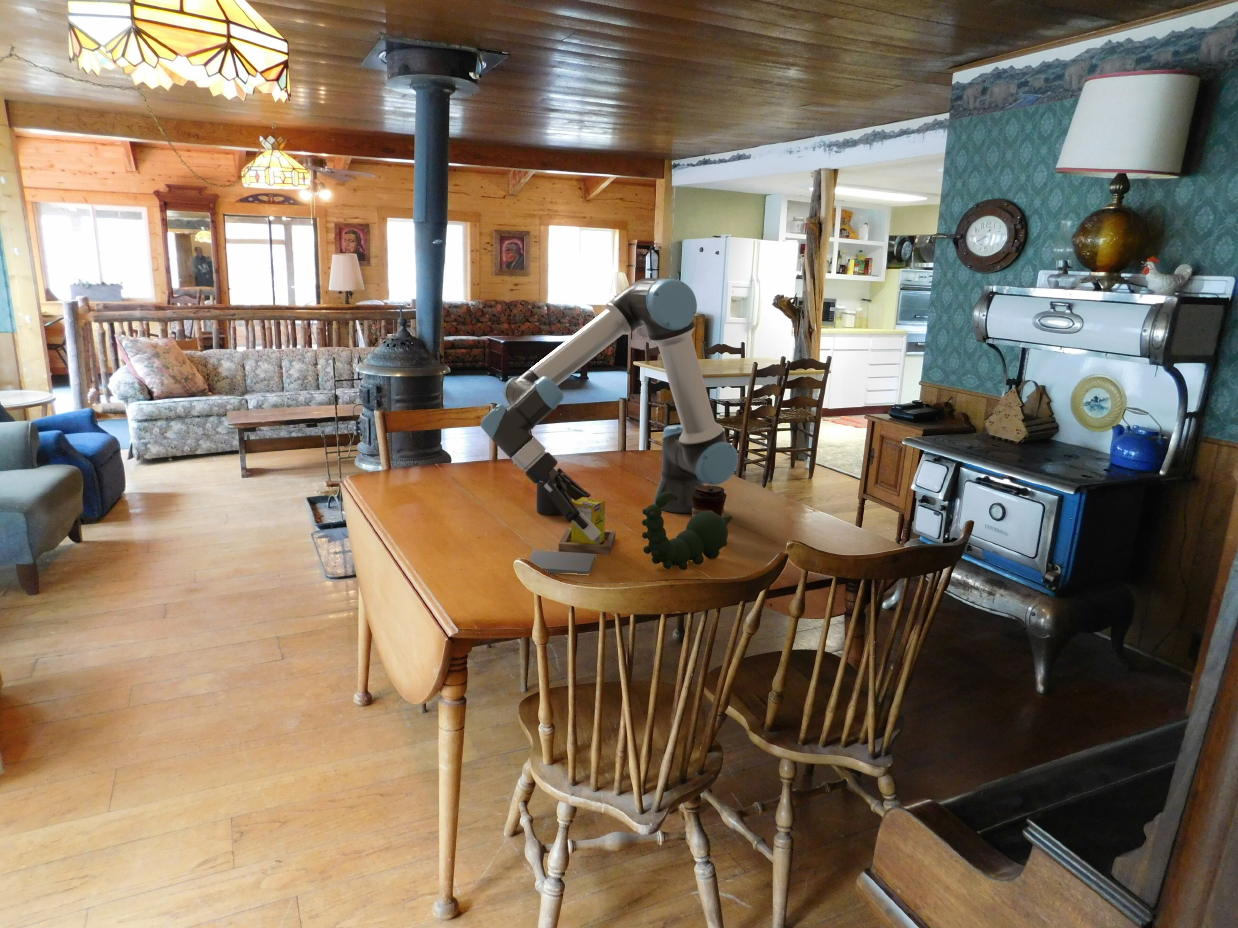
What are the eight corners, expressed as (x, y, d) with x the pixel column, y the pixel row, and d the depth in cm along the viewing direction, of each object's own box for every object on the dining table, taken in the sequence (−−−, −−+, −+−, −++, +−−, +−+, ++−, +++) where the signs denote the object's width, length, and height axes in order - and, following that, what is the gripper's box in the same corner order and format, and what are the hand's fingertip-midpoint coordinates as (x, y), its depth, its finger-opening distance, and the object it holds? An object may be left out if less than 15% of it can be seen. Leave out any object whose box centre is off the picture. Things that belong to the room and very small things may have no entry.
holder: (615, 538, 193) (615, 530, 192) (609, 555, 181) (610, 546, 181) (567, 535, 194) (567, 527, 193) (558, 551, 182) (558, 543, 182)
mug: (553, 520, 206) (554, 487, 203) (530, 509, 215) (530, 477, 213) (583, 515, 211) (584, 482, 209) (559, 504, 220) (559, 472, 218)
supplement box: (604, 543, 189) (605, 499, 187) (593, 551, 184) (594, 505, 181) (582, 539, 191) (583, 496, 189) (570, 546, 186) (571, 502, 184)
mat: (595, 558, 179) (595, 553, 179) (588, 575, 168) (588, 571, 168) (534, 554, 180) (534, 550, 180) (524, 571, 170) (524, 567, 169)
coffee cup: (713, 547, 189) (717, 494, 186) (682, 540, 193) (685, 488, 190) (728, 537, 196) (732, 487, 193) (698, 531, 200) (701, 481, 197)
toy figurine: (663, 587, 168) (746, 555, 182) (660, 503, 162) (746, 477, 176) (635, 573, 175) (717, 544, 189) (632, 492, 170) (717, 468, 184)
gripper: (534, 460, 196) (595, 523, 199) (512, 484, 174) (581, 555, 176) (555, 440, 195) (616, 504, 197) (536, 462, 172) (605, 534, 174)
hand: (599, 528), depth 186 cm, fingers open, 11 cm apart
